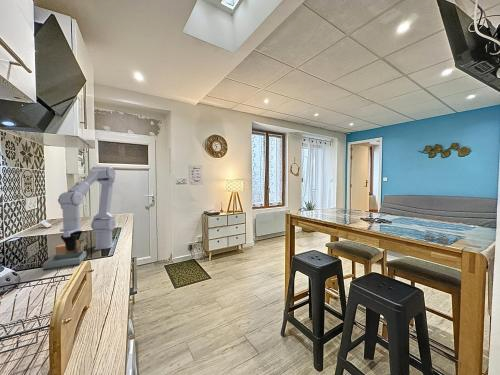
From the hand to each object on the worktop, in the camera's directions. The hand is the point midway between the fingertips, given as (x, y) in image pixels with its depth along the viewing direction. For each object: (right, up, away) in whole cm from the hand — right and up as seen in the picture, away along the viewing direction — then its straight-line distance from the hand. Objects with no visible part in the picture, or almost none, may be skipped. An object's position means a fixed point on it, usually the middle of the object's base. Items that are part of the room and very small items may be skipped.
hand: (73, 248), depth 94 cm
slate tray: (-2, -6, -1) cm, 6 cm away
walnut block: (0, -2, 0) cm, 2 cm away
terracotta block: (-12, -6, +9) cm, 16 cm away
